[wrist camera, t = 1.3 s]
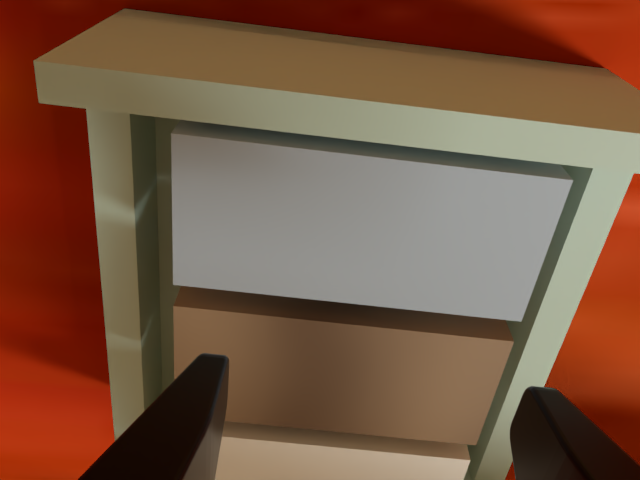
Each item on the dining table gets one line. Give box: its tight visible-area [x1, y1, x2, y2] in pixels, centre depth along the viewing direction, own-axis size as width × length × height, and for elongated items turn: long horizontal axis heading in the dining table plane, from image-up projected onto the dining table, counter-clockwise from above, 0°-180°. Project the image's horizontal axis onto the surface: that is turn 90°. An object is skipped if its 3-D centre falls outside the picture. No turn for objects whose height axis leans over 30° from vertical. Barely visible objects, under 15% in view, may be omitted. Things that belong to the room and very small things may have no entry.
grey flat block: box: [171, 120, 573, 322], centre depth 14 cm, size 8×4×2 cm, turn 83°
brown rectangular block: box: [173, 286, 514, 445], centre depth 16 cm, size 8×4×2 cm, turn 83°
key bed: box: [33, 8, 640, 480], centre depth 17 cm, size 13×14×6 cm
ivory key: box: [215, 421, 471, 480], centre depth 18 cm, size 8×4×2 cm, turn 83°
